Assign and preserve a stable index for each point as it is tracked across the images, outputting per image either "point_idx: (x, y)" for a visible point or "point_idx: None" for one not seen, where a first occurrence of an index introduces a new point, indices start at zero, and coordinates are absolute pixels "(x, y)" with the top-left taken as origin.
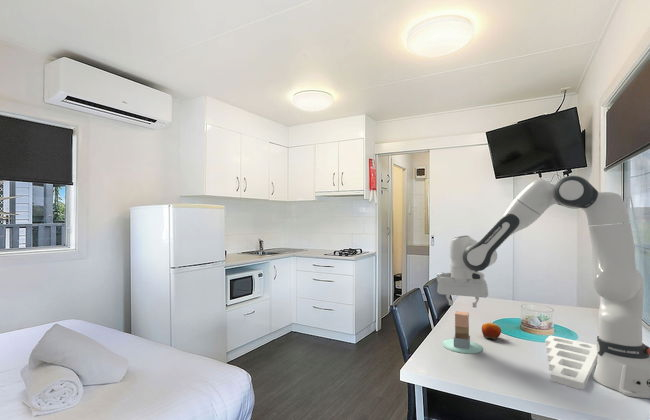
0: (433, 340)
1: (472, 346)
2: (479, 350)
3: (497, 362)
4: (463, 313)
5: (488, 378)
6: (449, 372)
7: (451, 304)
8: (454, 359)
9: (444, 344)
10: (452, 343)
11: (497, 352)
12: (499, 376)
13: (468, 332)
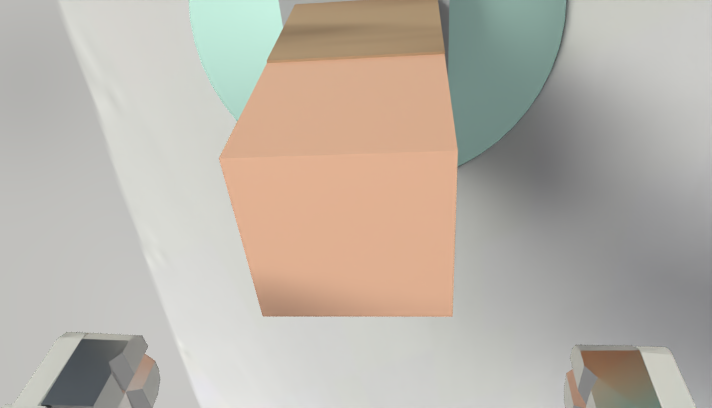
0: (101, 10)
1: (469, 5)
2: (532, 80)
3: (640, 223)
4: (373, 244)
5: (549, 396)
6: (376, 404)
7: (138, 399)
8: None
9: (231, 88)
10: (282, 25)
11: (699, 22)
12: None
13: None
